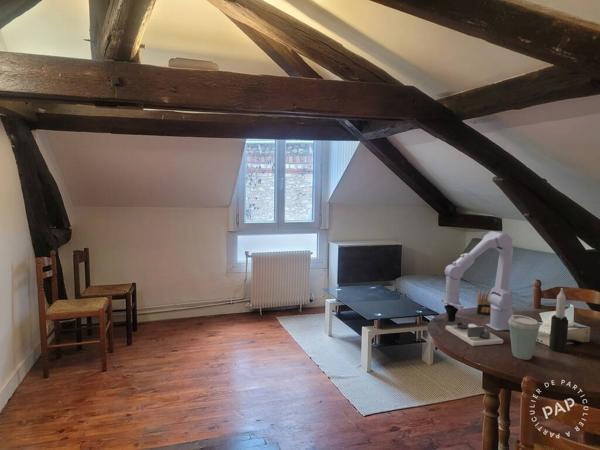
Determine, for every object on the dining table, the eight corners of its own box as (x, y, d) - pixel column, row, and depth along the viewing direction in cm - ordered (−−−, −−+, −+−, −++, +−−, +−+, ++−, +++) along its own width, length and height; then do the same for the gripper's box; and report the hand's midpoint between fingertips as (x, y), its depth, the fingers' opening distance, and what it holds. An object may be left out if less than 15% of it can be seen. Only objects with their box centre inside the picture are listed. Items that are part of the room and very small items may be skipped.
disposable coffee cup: (537, 354, 160) (540, 316, 159) (538, 364, 151) (541, 324, 149) (506, 349, 165) (509, 312, 164) (505, 358, 156) (508, 320, 154)
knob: (469, 326, 185) (469, 317, 185) (466, 329, 182) (467, 319, 181) (447, 322, 191) (447, 313, 190) (444, 325, 187) (444, 315, 187)
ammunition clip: (499, 314, 209) (500, 291, 208) (500, 315, 207) (501, 292, 206) (476, 313, 211) (477, 290, 210) (477, 314, 209) (478, 290, 208)
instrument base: (473, 326, 190) (473, 322, 190) (503, 343, 171) (503, 338, 171) (445, 328, 187) (445, 324, 187) (472, 345, 168) (473, 340, 168)
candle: (563, 348, 166) (567, 287, 164) (566, 352, 162) (571, 290, 159) (548, 346, 168) (553, 285, 166) (551, 351, 163) (556, 288, 161)
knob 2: (485, 334, 176) (486, 324, 175) (492, 338, 172) (492, 327, 171) (465, 336, 174) (465, 325, 173) (471, 339, 170) (472, 329, 169)
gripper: (435, 288, 190) (434, 317, 192) (453, 296, 176) (452, 327, 178) (449, 287, 192) (448, 316, 193) (468, 295, 178) (466, 326, 179)
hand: (451, 321), depth 186 cm, fingers closed, pressing on knob
